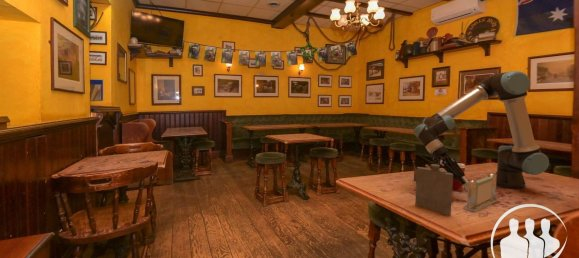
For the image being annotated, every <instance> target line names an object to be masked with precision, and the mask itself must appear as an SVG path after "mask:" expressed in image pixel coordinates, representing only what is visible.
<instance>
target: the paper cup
mask: <svg viewBox="0 0 579 258" xmlns="http://www.w3.org/2000/svg"><path fill="white" fill-rule="evenodd" d="M457 164H458V165H459V166H460V168H461V169H462V171H463V172H464V173H465V171H466V165H465V163H459V162H457ZM463 188H464V186H463V185H462V184H461V183H460V182H459V180H455V179H454V178H453V185H452V191H457V192H458V191H459V192H461V191H463Z"/></svg>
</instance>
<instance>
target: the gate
mask: <svg viewBox="0 0 579 258" xmlns="http://www.w3.org/2000/svg"><path fill="white" fill-rule="evenodd" d="M476 181H477V184H476V200H475V206H477V205H478V204H480V203H482V202H484V201H487V200H489V199H491V187H492V181H493V178H492V177H488V176H485V177H484V178H480V179H477V180H476Z"/></svg>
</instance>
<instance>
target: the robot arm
mask: <svg viewBox="0 0 579 258" xmlns="http://www.w3.org/2000/svg"><path fill="white" fill-rule="evenodd" d="M530 86H531V80H530V77H529V76H528V75H527V73H525V72H522V71H520V70H519V71H518V70H517V71H516V70H511V71H505V72H500V73H499V72H498V73H495V74H492V75H490V76H489V77H487V78H485V79H484V80H482V81H481V82H479V83H478V84H476V85H475V86H473V87H474V88H473V89H472V90H470V91H469V92H467V93H466V94H464V95H462V96H461V97H459V98H457V99H456V100H454V101H453V102H452V103H450V104H448V105H446V106H445V107H444V108H441V110H439V111H437V112H436V113H434V114H433V115H431V116H427V117H424V118H423V120H422V123H421V124H418V125H417V126H416V127H415V128H414V129H413V134H414V136H416V139H418V141H419V142H420V143H421V144H422V145H423V146H424V147H425V149H426V150H427V152H428V153H429V154H431V157H432V158H433V159H434V160H435V161H438V162H439V163H438V165H440V167H442V169H444V171H446V172H448V173H452V174H453V178H454V179H455V180H459V182H460V183H461V184H462V185H463V188H464V189H465V190H466V192H468V182H469V180H468V179H467V178H466V177H465V176H466V173H465V172H463V171H462V169H461V168H460V166H459V165H458V164H457V163H458V162H457V159H456V158H452V157H451V156H449V155H448V154H449V150H448V149H447V148H446V146H444V144H443V143H442V142H441V140H439V138H438V137H439V136H441V135H443V134H445V133H446V132H448V131H450V130H452V129H453V128H454V127H455V126H456V122H455V120H454V119H455V118H456V117H458V116H460V115H461V114H463V113H464V112H466V111H468V110H469V109H470V108H472V107H474V106H475V105H477V104H478V103H480V102H482V101H483V100H484V101H487V100H488V99H490V98H493V97H496V96H498V101H500V102H502V103H503V105H504V109H505V113H506V117H507V121H508V125H509V130H510V134H511V137H512V142H513V145H500V146H498V150H497V165H496V166H497V169H496V172H495V174H497V180H496V187H500V188H505V189H512V190H524V189H526V186H527V185H526V182H525V177H524V175H523V173H525V174H527V175H532V176H535V175H536V176H537V175H540V174H543V173H544V172H546V170H547V169H548V167H549V164H550V160H549V157H548V156H547V155H546V154H545V153H543V152H542V151H541V150H542V149H541V146H540V145H539V144H537V143H536V141H535V138H534V137H535V136H534V133H533V130H532V129H533V128H532V124H531V121H530V116H529V113H528V109H527V105H526V103H527V102H526V100H525V99H526V97H527V96H528V91H529V89H530Z"/></svg>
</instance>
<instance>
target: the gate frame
mask: <svg viewBox="0 0 579 258" xmlns="http://www.w3.org/2000/svg"><path fill="white" fill-rule="evenodd" d="M487 177H492V178H493V181H492V187H491V199H489V200H487V201H484V202H482V203H480V204H478V205H477V206H475V200H476V184H477V180H475V179H469V180H468V191H467V197H466V198H467V200H466V205H464V206H463V207H462V209H463V210H467V211H470V212H473V213H477V212H478V211H481V210H482V209H484V208H487V207H489V206H490V205H492V204H495V203H497V202H498V201H499V199H498V198H496V194H497V191H496V190H497V186H496V180H497V174H496V172H495V173H494V172H487Z"/></svg>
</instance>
